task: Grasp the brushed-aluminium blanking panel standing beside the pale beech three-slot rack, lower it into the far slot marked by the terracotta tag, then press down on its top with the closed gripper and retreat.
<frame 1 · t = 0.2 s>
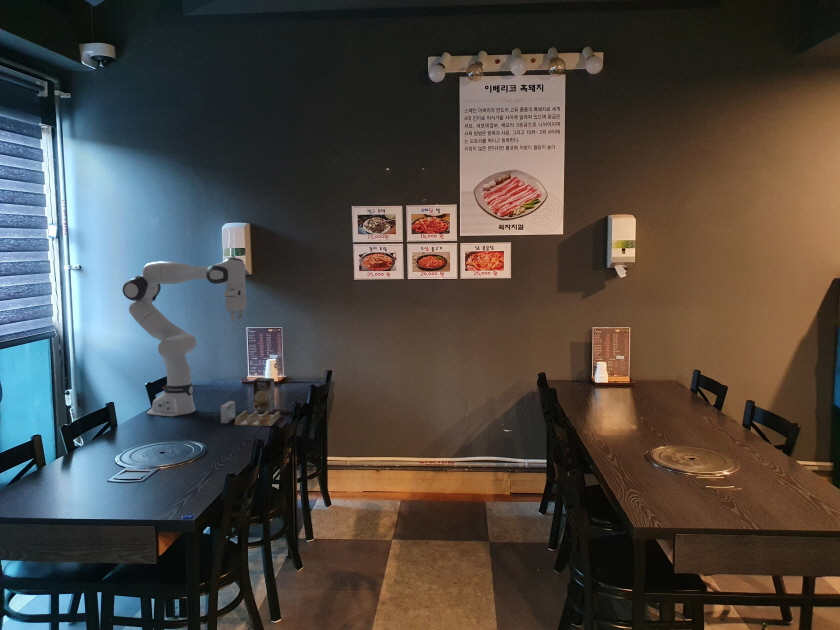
hand: (237, 319, 290), 47 cm above the table, fingers open, 8 cm apart
panel: (228, 420, 284), on the table
coffee box: (264, 410, 301), on the table
rack: (258, 420, 283), on the table
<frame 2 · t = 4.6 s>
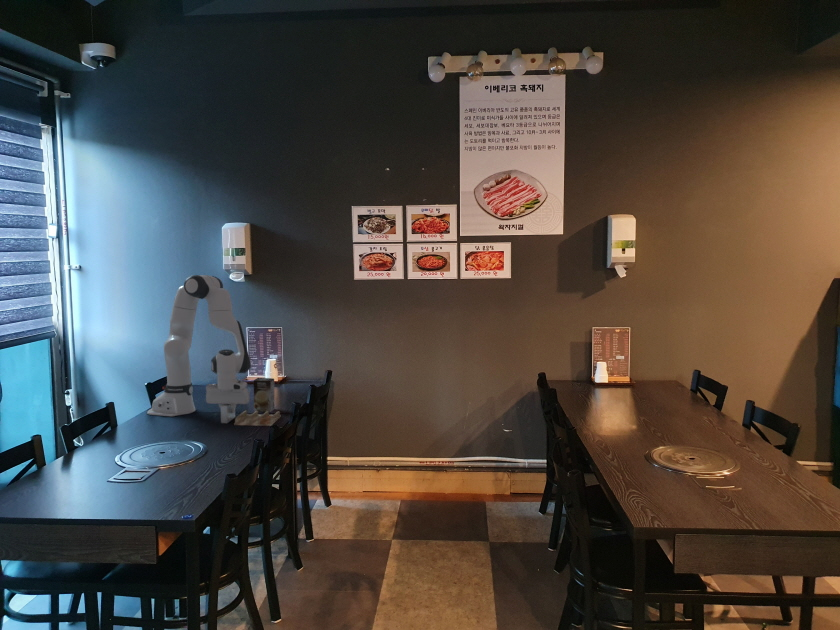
hand: (228, 412, 283), 4 cm above the table, fingers closed on panel, 3 cm apart
panel: (228, 420, 284), on the table, touching gripper
everything else where it was.
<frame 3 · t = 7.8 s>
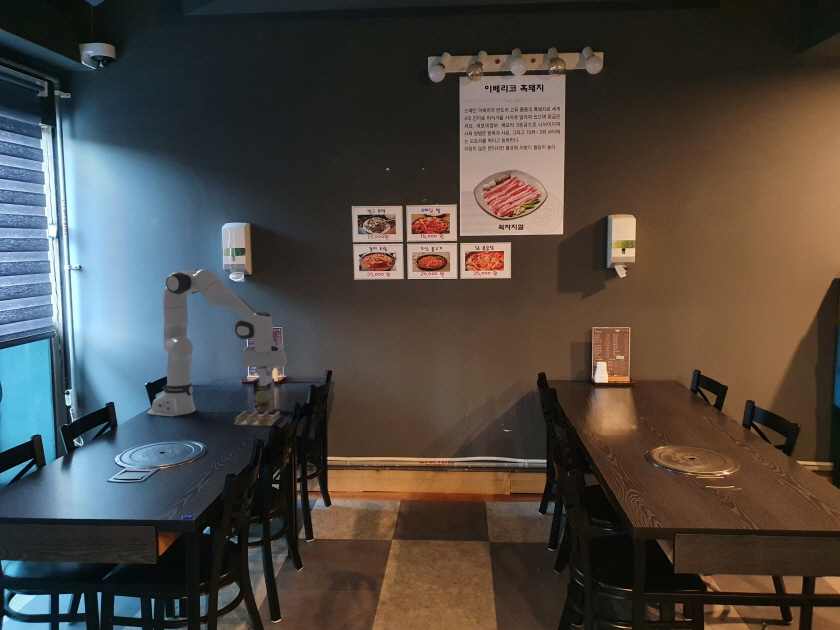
hand: (265, 375, 280), 22 cm above the table, fingers closed on panel, 3 cm apart
panel: (266, 383, 280), point 18 cm above the table, touching gripper
everything else where it was.
when the fingers open (6 cm above the table, at t = 11.2 s): panel stays where it is, resting on rack.
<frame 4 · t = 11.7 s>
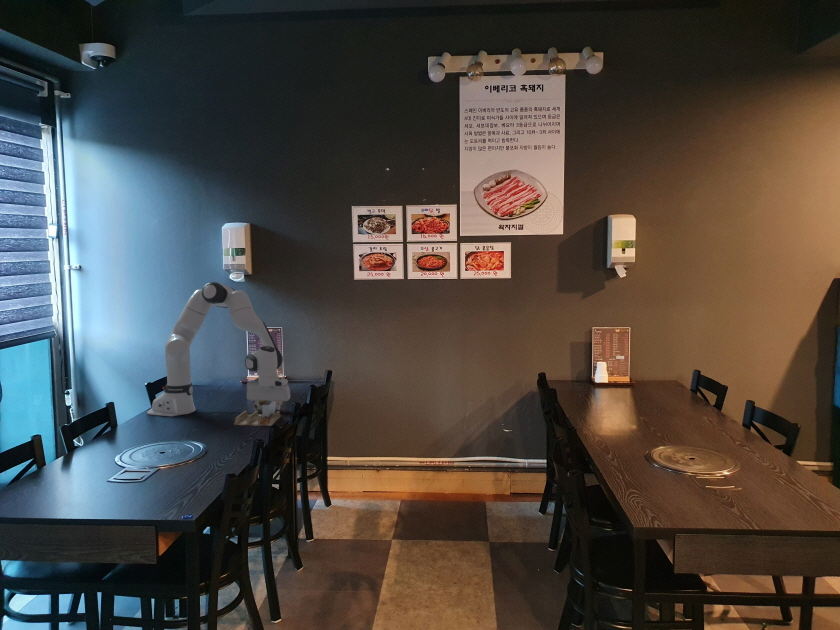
hand: (268, 409, 282), 6 cm above the table, fingers open, 8 cm apart
panel: (269, 418, 282), point 1 cm above the table, touching rack
everything else where it was.
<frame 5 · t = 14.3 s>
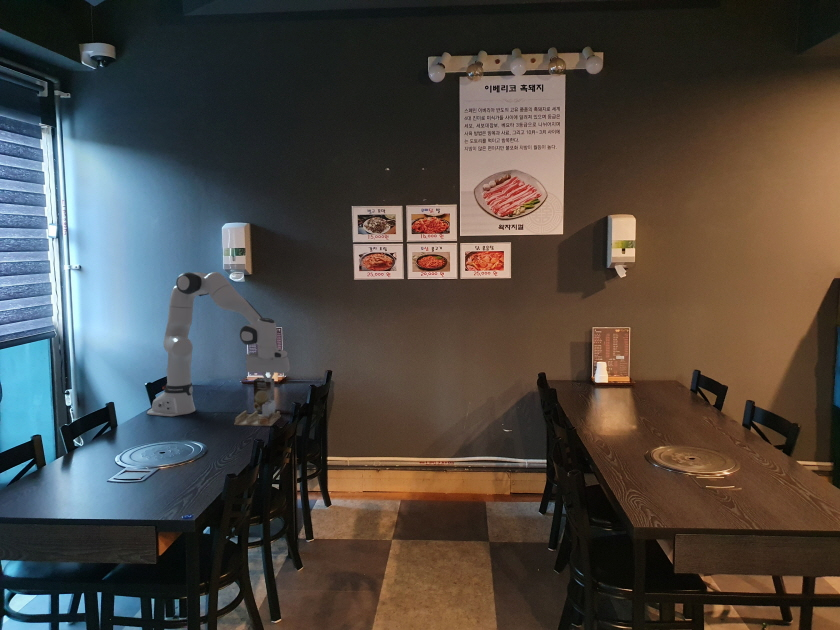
hand: (268, 381, 280), 19 cm above the table, fingers closed
nothing on the table moved.
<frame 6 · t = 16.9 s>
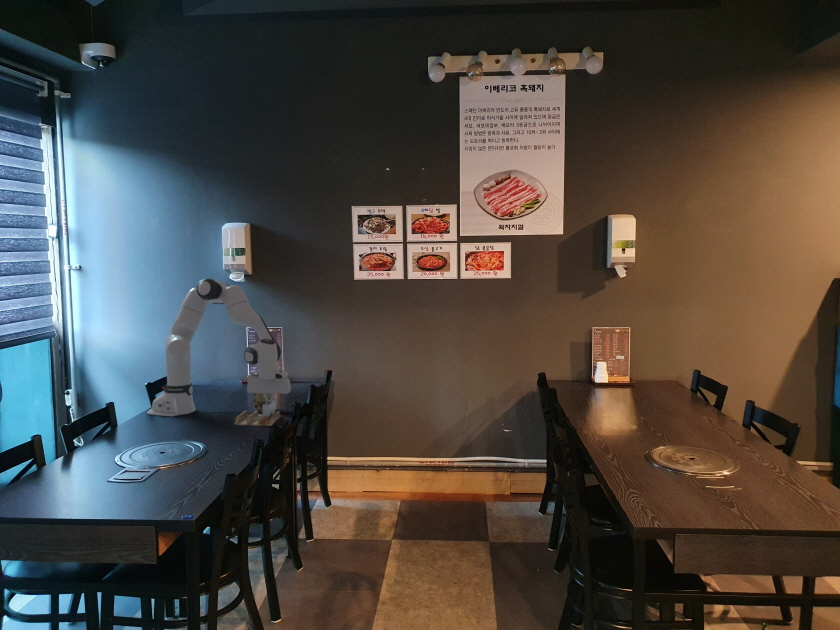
hand: (269, 402, 281), 9 cm above the table, fingers closed, pressing on panel
panel: (269, 418, 282), point 1 cm above the table, touching gripper, rack
everything else where it was.
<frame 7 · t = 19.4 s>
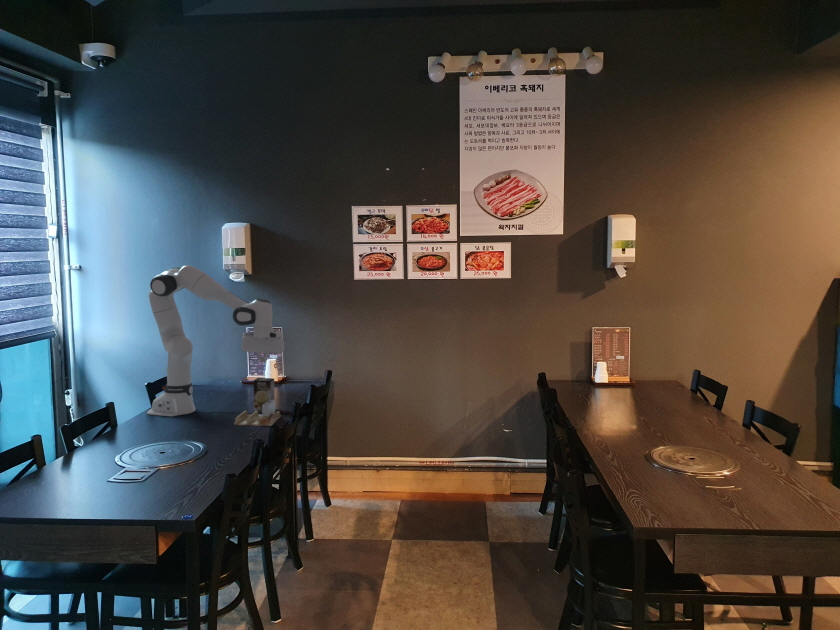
hand: (262, 361, 285), 28 cm above the table, fingers closed
panel: (269, 418, 282), point 1 cm above the table, touching rack
everything else where it was.
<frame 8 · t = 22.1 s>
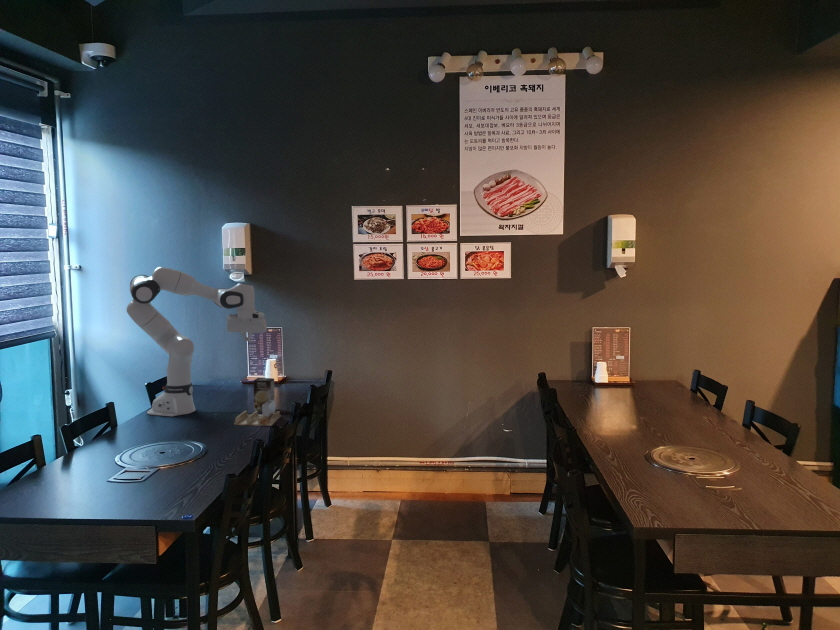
hand: (247, 340, 306), 34 cm above the table, fingers closed
nothing on the table moved.
at the end: panel 0.1 cm from the target spot on the rack, point 1.0 cm above the rack's base; panel tilted 0°; the gripper is holding nothing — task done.
